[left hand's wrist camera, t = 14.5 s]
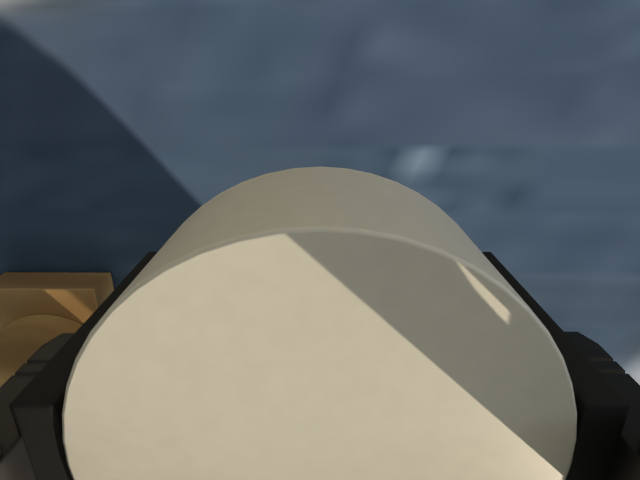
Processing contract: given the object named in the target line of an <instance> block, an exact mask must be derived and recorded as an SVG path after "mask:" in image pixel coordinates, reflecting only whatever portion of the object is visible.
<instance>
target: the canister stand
mask: <svg viewBox="0 0 640 480" xmlns="http://www.w3.org/2000/svg"><path fill="white" fill-rule="evenodd" d="M113 291H114V287H113V281H112V276H111V273H71V272H5V273H3V274H2V275H0V387H1V386H2V385H3V384H4V383H5V382H6V381H7V380H8V379H9V378H10V377H11V376H12V375H15V372H16V371H17V370H18V369H19V368H20V367H21V366H22V365H23V364H24V363H27V360H28V359H29V358H30V357H31V356H32V355H33V354H34V353H35V352H36V351H37V350H38V349H39V348H40V347H41V346H42V345H44V344H45V343H47V342H49V341H50V340H52V339H54V338H55V337H57V336H59V335H60V334H62V333H75V332H76V331H77V330H78V329H79V328H80V327H81V326H82V325H83V324H84V323H85V321H86V320H87V319H88V318H89V317H90V316H91V315H92V314H93V313H94V312H95V311H96V309H97V308H98V307H99V306H100V305H101V304H102V303H103V302H104V301H105V300H106V299H107V297H108V296H109V295H110V294H111V293H112V292H113Z"/></svg>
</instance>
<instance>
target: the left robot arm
mask: <svg viewBox="0 0 640 480" xmlns="http://www.w3.org/2000/svg"><path fill="white" fill-rule="evenodd" d="M482 253H483V254H484V256H485V257H486V258H487V259H488V260H489V261H490V262H491V264H492V265H493V266H494V267H495V268H496V269H497V271H498V272H499V273H500V274H501V275H502V276H503V277H504V279H505V280H506V281H507V282H508V283H509V284H510V285H511V287H512V288H513V289H514V290H515V291H516V292H517V293H518V295H519V296H520V297H521V298H522V299H523V300H524V302H525V303H526V304H527V305H528V306H529V307H530V309H531V310H532V311H533V312H534V314H535V315H536V316H537V317H538V319H539V320H540V321H541V322H542V324H543V325H544V326H545V327H546V329H547V330H548V331H549V333H550V334H551V336H552V338H553V340H554V342H555V343H556V345H557V347H558V349H559V351H560V352H561V354H562V356H563V358H564V361H565V364H566V367H567V370H568V373H569V375H570V378H571V381H572V384H573V391H574V397H575V404H576V410H577V433H576V444H575V449H574V454H573V459H572V464H571V467H570V469H569V472H568V474H567V477H566V480H640V385H639V384H638V383H637V382H636V381H635V380H634V379H633V378H632V377H631V376H630V375H629V374H625V370H624V369H623V368H622V367H621V366H620V365H619V364H618V363H617V362H613V358H612V357H611V356H610V355H609V354H608V353H607V352H606V351H605V350H604V349H603V348H602V347H601V346H600V345H599V344H597V343H596V342H594V341H592V340H591V339H589V338H587V337H586V336H584V335H582V334H580V333H579V332H563V331H562V329H561V328H560V327H559V326H558V325H557V324H556V323H555V322H554V321H553V320H552V319H551V317H550V316H549V315H548V314H547V313H546V312H545V311H544V310H543V309H542V308H541V307H540V305H539V304H538V303H537V302H536V301H535V300H534V299H533V298H532V297H531V296H530V295H529V293H528V292H527V291H526V290H525V289H524V288H523V287H522V286H521V285H520V284H519V283H518V281H517V280H516V279H515V278H514V277H513V276H512V275H511V274H510V273H509V272H508V271H507V269H506V268H505V267H504V266H503V265H502V264H501V263H500V262H499V261H498V260H497V259H496V257H495V256H494V255H493V254H492V253H491V252H482ZM156 254H157V252H149V253H148V254H147V255H146V256H145V257H144V258H143V259H142V260H141V261H140V263H139V264H138V265H137V266H136V267H135V268H134V269H133V270H132V271H131V272H130V273H129V275H128V276H127V277H126V278H125V279H124V280H123V281H122V282H121V283H120V284H119V285H118V287H117V288H116V289H115V290H114V291H113V292H112V293H111V294H110V295H109V296H108V297H107V299H106V300H105V301H104V302H103V303H102V304H101V305H100V306H99V307H98V308H97V309H96V311H95V312H94V313H93V314H92V315H91V316H90V317H89V318H88V319H87V320H86V321H85V323H84V324H83V325H82V326H81V327H80V328H79V329H78V330H77V331H76V332H75V333H62V334H60V335H59V336H57V337H55V338H54V339H52V340H50V341H49V342H47V343H45V344H44V345H42V346H41V347H40V348H39V349H38V350H37V351H36V352H35V353H34V354H33V355H32V356H31V357H30V358H29V359H28V360H27V363H24V364H23V365H22V366H21V367H20V368H19V369H18V370H17V371H16V372H15V375H12V376H11V377H10V378H9V379H8V380H7V381H6V382H5V383H4V384H3V385H2V386H1V387H0V480H73V478H72V475H71V472H70V470H69V467H68V464H67V459H66V454H65V449H64V444H63V433H62V411H63V404H64V398H65V391H66V385H67V382H68V379H69V376H70V373H71V370H72V367H73V365H74V362H75V359H76V357H77V355H78V353H79V351H80V349H81V348H82V346H83V344H84V342H85V340H86V339H87V337H88V335H89V333H90V332H91V330H92V329H93V328H94V327H95V325H96V324H97V323H98V322H99V320H100V319H101V318H102V317H103V315H104V314H105V313H106V312H107V310H108V309H109V308H110V307H111V305H112V304H113V303H114V302H115V301H116V300H117V299H118V297H119V296H120V295H121V294H122V293H123V292H124V290H125V289H126V288H127V287H128V286H129V285H130V284H131V282H132V281H133V280H134V279H135V278H136V277H137V275H138V274H139V273H140V272H141V271H142V270H143V269H144V267H145V266H146V265H147V264H148V263H149V262H150V260H151V259H152V258H153V257H154V256H155V255H156Z"/></svg>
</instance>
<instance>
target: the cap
mask: <svg viewBox="0 0 640 480" xmlns="http://www.w3.org/2000/svg"><path fill="white" fill-rule="evenodd" d="M62 433H63V444H64V449H65V454H66V459H67V464H68V467H69V470H70V472H71V475H72V478H73V480H566V477H567V474H568V472H569V469H570V467H571V464H572V459H573V454H574V449H575V444H576V433H577V410H576V404H575V397H574V391H573V384H572V381H571V378H570V375H569V373H568V370H567V367H566V364H565V361H564V358H563V356H562V354H561V352H560V351H559V349H558V347H557V345H556V343H555V342H554V340H553V338H552V336H551V334H550V333H549V331H548V330H547V329H546V327H545V326H544V325H543V324H542V322H541V321H540V320H539V319H538V317H537V316H536V315H535V314H534V312H533V311H532V310H531V309H530V307H529V306H528V305H527V304H526V303H525V302H524V300H523V299H522V298H521V297H520V296H519V295H518V293H517V292H516V291H515V290H514V289H513V288H512V287H511V285H510V284H509V283H508V282H507V281H506V280H505V279H504V277H503V276H502V275H501V274H500V273H499V272H498V271H497V269H496V268H495V267H494V266H493V265H492V264H491V262H490V261H489V260H488V259H487V258H486V257H485V256H484V254H483V253H482V252H481V251H480V250H479V249H478V248H477V246H476V245H475V244H474V243H473V242H472V241H471V240H470V238H469V237H468V236H467V235H466V234H465V233H464V231H463V230H462V229H461V228H460V227H459V226H458V225H457V223H456V222H455V221H453V220H452V219H451V218H450V217H449V216H448V215H447V214H446V213H445V212H444V211H443V210H442V209H440V208H439V207H438V206H437V205H435V204H434V203H432V202H431V201H429V200H428V199H427V198H425V197H424V196H422V195H421V194H419V193H418V192H416V191H414V190H411V189H409V188H407V187H405V186H403V185H401V184H399V183H397V182H395V181H392V180H389V179H386V178H383V177H380V176H378V175H375V174H372V173H367V172H361V171H356V170H351V169H346V168H332V167H307V168H293V169H288V170H283V171H278V172H273V173H268V174H265V175H262V176H259V177H256V178H253V179H250V180H247V181H244V182H242V183H240V184H238V185H236V186H234V187H232V188H230V189H228V190H226V191H224V192H222V193H220V194H218V195H217V196H215V197H214V198H213V199H211V200H210V201H208V202H207V203H205V204H204V205H202V206H201V207H200V208H199V209H198V210H196V211H195V212H194V213H193V214H192V215H191V216H190V217H189V218H188V219H187V220H186V221H185V222H183V224H182V225H181V226H180V227H179V228H178V229H177V230H176V232H175V233H174V234H173V235H172V236H171V237H170V239H169V240H168V241H167V242H166V243H165V244H164V245H163V247H162V248H161V249H160V250H159V251H158V252H157V254H156V255H155V256H154V257H153V258H152V259H151V260H150V262H149V263H148V264H147V265H146V266H145V267H144V269H143V270H142V271H141V272H140V273H139V274H138V275H137V277H136V278H135V279H134V280H133V281H132V282H131V284H130V285H129V286H128V287H127V288H126V289H125V290H124V292H123V293H122V294H121V295H120V296H119V297H118V299H117V300H116V301H115V302H114V303H113V304H112V305H111V307H110V308H109V309H108V310H107V312H106V313H105V314H104V315H103V317H102V318H101V319H100V320H99V322H98V323H97V324H96V325H95V327H94V328H93V329H92V330H91V332H90V333H89V335H88V337H87V339H86V340H85V342H84V344H83V346H82V348H81V349H80V351H79V353H78V355H77V357H76V359H75V362H74V365H73V367H72V370H71V373H70V376H69V379H68V382H67V385H66V391H65V398H64V404H63V411H62Z"/></svg>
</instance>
